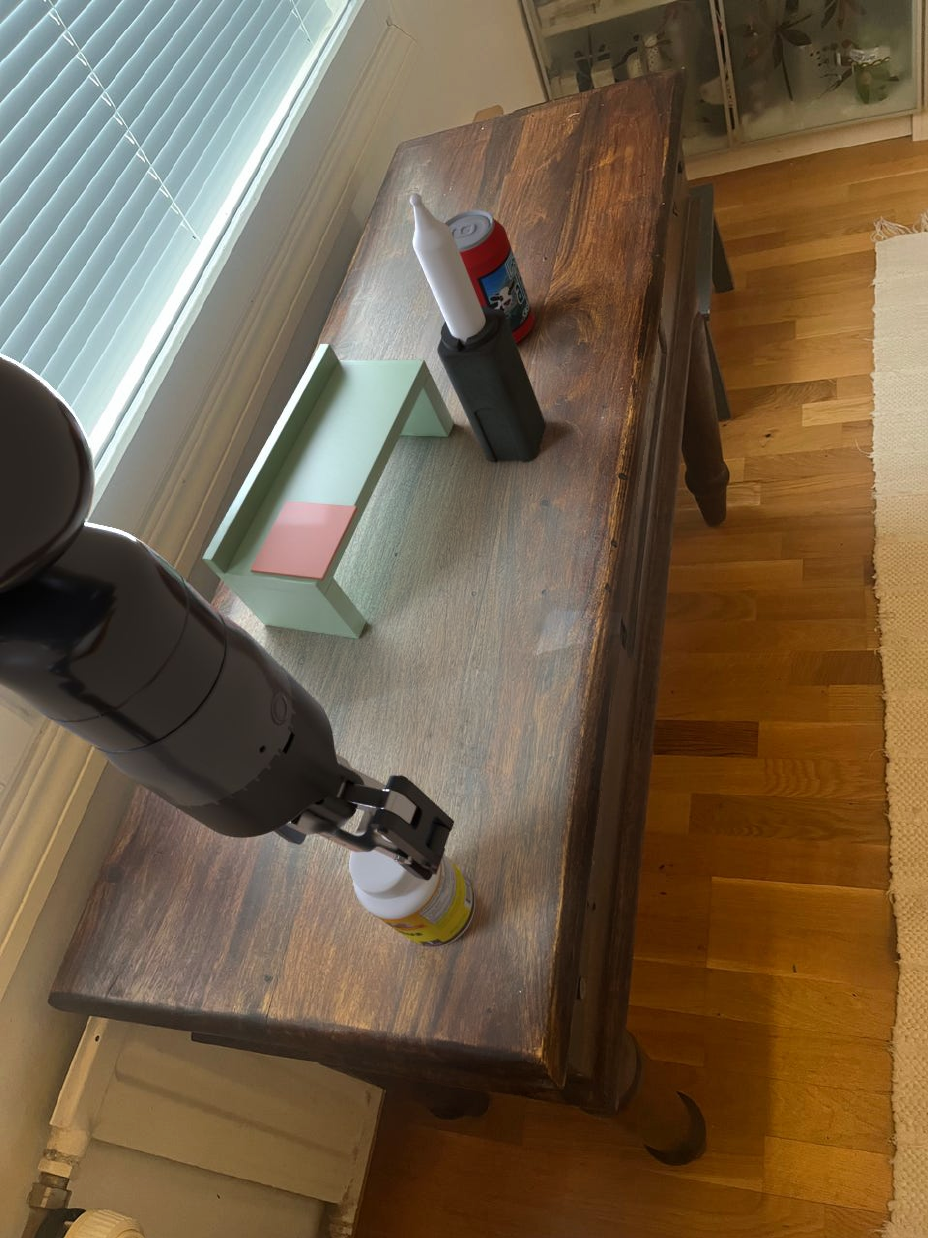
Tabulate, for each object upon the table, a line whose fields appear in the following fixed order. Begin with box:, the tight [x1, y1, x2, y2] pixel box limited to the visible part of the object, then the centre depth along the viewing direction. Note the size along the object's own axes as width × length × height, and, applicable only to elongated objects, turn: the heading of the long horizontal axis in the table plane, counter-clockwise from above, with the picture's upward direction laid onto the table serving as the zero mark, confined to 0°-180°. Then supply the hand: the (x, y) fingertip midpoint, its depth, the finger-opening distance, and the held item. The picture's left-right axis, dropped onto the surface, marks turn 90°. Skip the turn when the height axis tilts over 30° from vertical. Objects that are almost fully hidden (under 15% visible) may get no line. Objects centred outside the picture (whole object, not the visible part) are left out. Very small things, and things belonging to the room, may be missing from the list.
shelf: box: [201, 343, 455, 639], centre depth 81 cm, size 24×10×10 cm, turn 160°
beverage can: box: [443, 209, 535, 344], centre depth 88 cm, size 7×7×12 cm
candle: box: [409, 192, 547, 464], centre depth 74 cm, size 5×5×25 cm
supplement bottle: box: [348, 835, 476, 948], centre depth 58 cm, size 6×6×10 cm
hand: (365, 844), depth 53 cm, fingers open, 8 cm apart
